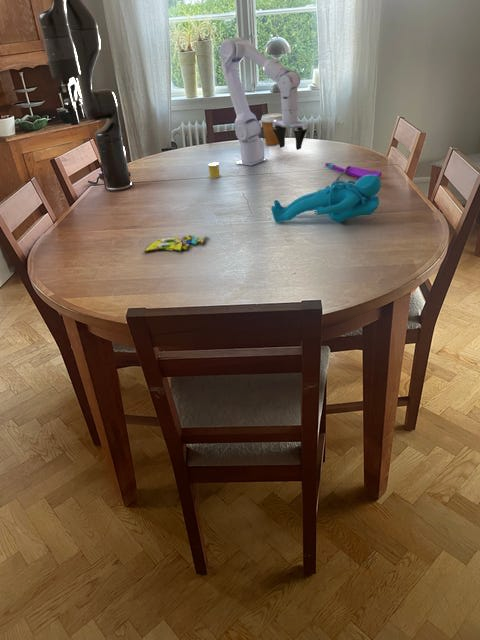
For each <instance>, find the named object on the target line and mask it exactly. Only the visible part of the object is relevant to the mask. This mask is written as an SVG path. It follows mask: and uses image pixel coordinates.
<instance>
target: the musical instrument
mask: <svg viewBox="0 0 480 640" xmlns="http://www.w3.org/2000/svg"><path fill="white" fill-rule="evenodd" d="M324 165H325V167H328V168H330V169H333V170H336V171H339V172H341V173H340V175H338V177H336V179H335V181H339V180H340V178H341V177H342V176H343V175H344V174H348V175H350V176H353V177H355V178H358V179H360V178H361V177H363V176H365V175H377V176H379V178H381V176H382V172H381V171H378V170H373V169H367V168H362V167H357V166H351V165H348V166H346V167H340V166H338V165H336V164H333V163H332V162H325V164H324ZM336 184H341V183H336ZM351 184H352V185H355V184H353V183H351Z"/></svg>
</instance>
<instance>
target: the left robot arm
mask: <svg viewBox="0 0 480 640" xmlns="http://www.w3.org/2000/svg"><path fill="white" fill-rule="evenodd" d="M37 18H38V24H39V27H40V32H41V35H42V39H43V45H44V51H45V55H46V58H47V62H48V67H49V70H50V75H51V77H52V78H53V79H56V80H57V79H58V80H59V79H60V81H61V84H58V89H59V92H60V97H61V102H62V105H63V109H64V110H66V112H67V115H68V119H69V122H70V125H71V126H78V125H80V121H79V120H84V119H85V117H86V118H87V120H88V121H90V122H97V121H103V120H106V123H105V124H104V125H103V126H102V127H100V128H99V129H98V130H96V131H95V132H94V139H95V143H96V147H97V153H98V156H99V160H100V162H99V163H98V164H99V168H100V172H99V173H98V176H97V177H96V181H91V180H87V183H89V184H92V185H97V184H98V183H99V180H101V181H102V182H103V185H104V189H106V190H107V191H111V192H120V191H124V190H127V189H130V188H132V187H133V184H132V179H131V172H130V170H129V169H130V168H129V165H128V160H127V155H126V149H125V144H124V141H123V134H122V128H121V121H120V115H119V109H118V102H117V99H116V95H115V93H114V91H112V90H111V89H110V88H102V89H95V90H93V84H92V82H93V72H94V68H95V66H96V63H97V60H98V58H99V55H100V51H101V38H100V34H99V33H100V32H99V28H98V23H97V20H96V18H95V16H94V15H93V13H92V11H91V10H90V8H89V7H88V6H87V5H86V3H85V2H84V1H83V0H52V4H51V7H50V8H48V9H45V10H42V11H40V12H39V13H38V15H37ZM76 77H77V78H76ZM84 114H85V115H84Z"/></svg>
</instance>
